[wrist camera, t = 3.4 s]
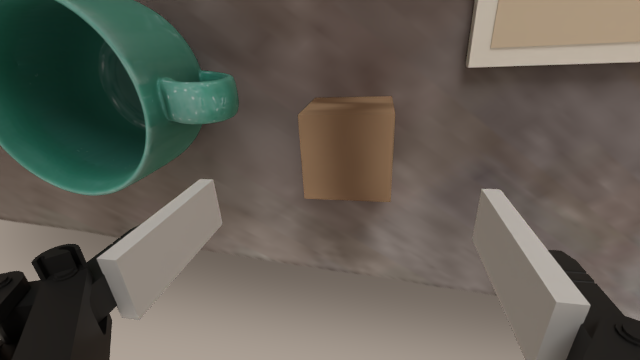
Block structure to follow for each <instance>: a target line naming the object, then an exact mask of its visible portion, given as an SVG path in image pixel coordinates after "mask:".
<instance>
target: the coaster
mask: <svg viewBox="0 0 640 360" xmlns="http://www.w3.org/2000/svg"><path fill="white" fill-rule="evenodd" d="M622 62H640V0H475V2H474V9H473V16H472V23H471V30H470V37H469V44H468V51H467V58H466V65H465V67H468V68H472V67H502V66H532V65H562V64H592V63H622Z"/></svg>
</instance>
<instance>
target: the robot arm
mask: <svg viewBox="0 0 640 360" xmlns="http://www.w3.org/2000/svg"><path fill="white" fill-rule="evenodd" d="M222 224H223V223H222V219H221V214H220V209H219V204H218V199H217V194H216V190H215V185H214V180H213V179H199V180H198V181H197V182H196V183H194V184H193V185H192V186H190V187H189V188H188V189H186V190H185V191H184V192H183V193H181V194H180V195H179V196H177V197H176V198H175V199H173V200H172V201H171V202H169V203H168V204H167V205H166V206H164V207H163V208H162V209H160V210H159V211H158V212H156V213H155V214H154V215H153V216H151V217H150V218H149V219H147V220H146V221H145V222H143V223H142V224H141V225H139V226H137V227H135V228H132V229H130V230H129V231H128V232H126V233H125V234H124V235H122V236H121V238H118V239H117V240H116V241H115V242H113V244H111V245H109V246H108V247H107V248H106V249H104V250H103V251H101V252H100V253H99V254H97V255H96V256H95V257H93V258H92V259H91V260H89V261H88V262H87V263H86V261H85V258H84V256H83V254H82V252H81V249H80V247H79V246H78V245H76V244H66V245H61V246H57V247H54V248H52V249H49V250H47V251H45V252H43V253H41V254H40V255H39V256H37V257H36V258H35V259H34V260H33V261H32V265H33V266H34V268H35V270H36V272H37V274H38V276H39V278H40V279H41V280H39V281H32V282H28V281H27V279H26V277H25V276H24V274H23V272H20V271H13V272H8V273H3V274H0V360H109V357H110V342H111V327H112V319H111V316H110V314H109V313H110V312H111V311H112V310H113V309H114V308H115V307H116V306H117V308H118V310H119V312H120V315H121V317H122V318H128V319H136V320H140V319H141V318H142V316H143V315H144V314H145V313H146V312H147V311H148V310H149V308H150V307H151V306H152V305H153V304H154V303H155V301H156V300H157V299H158V298H159V297H160V295H162V293H163V292H164V291H165V290H166V289H167V288H168V286H169V285H170V284H171V283H172V282H173V281H174V279H175V278H176V277H177V276H178V275H179V274H180V273H181V271H182V270H183V269H184V268H185V267H186V266H187V264H188V263H189V262H190V261H191V260H192V258H193V257H194V256H195V255H196V254H197V253H198V252H199V251H200V249H201V248H202V247H203V246H204V245H205V244H206V243H207V241H208V240H209V239H210V238H211V237H212V236H213V234H214V233H215V232H216V231H217V230H218V229H219V227H220V226H221V225H222ZM472 241H473V243H474V245H475V248H476V250H477V252H478V254H479V257H480V259H481V261H482V263H483V266H484V268H485V270H486V272H487V275H488V277H489V279H490V281H491V284H492V286H493V288H494V290H495V293H496V295H497V297H498V299H499V302H500V304H501V306H502V308H503V310H504V313H505V315H506V317H507V319H508V322H509V324H510V326H511V329H512V331H513V333H514V335H515V337H516V340H517V342H518V344H519V346H520V349H521V351H522V353H523V355H524V358H525V360H640V321H638V320H635V319H632V318H629V317H626V316H624V315H623V314H622V312H621V311H620V310H619V309H618V308H617V307H616V306H615V304H614V303H613V302H612V301H611V300H610V299H609V298H608V296H607V295H606V294H605V293H604V292H603V291H602V290H601V288H600V287H599V286H598V285H597V284H595V283H594V280H593V279H592V278H591V277H590V276H589V275H588V274H586V271H585V270H584V269H583V268H582V267H581V266H580V264H579V263H578V262H577V261H576V260H574V259H573V258H571V257H570V256H568V255H567V254H565V253H564V252H562V251H556V250H547V249H546V247H545V246H544V245H543V244H542V242H541V241H540V240H539V238H538V237H537V236H536V235H535V233H534V232H533V231H532V230H531V228H530V227H529V226H528V224H527V223H526V222H525V221H524V219H523V218H522V217H521V215H520V214H519V213H518V212H517V210H516V209H515V208H514V207H513V205H512V204H511V203H510V201H509V200H508V199H507V198H506V196H505V195H504V194H503V192H502V191H501V190H499V189H482V190H481V195H480V200H479V206H478V211H477V216H476V222H475V227H474V232H473V238H472Z"/></svg>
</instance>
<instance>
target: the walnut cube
mask: <svg viewBox="0 0 640 360" xmlns="http://www.w3.org/2000/svg"><path fill="white" fill-rule="evenodd" d="M298 123H299V136H300V148H301V160H302V173H303V185H304V198H305V199H329V200H353V201H377V202H390V200H391V182H392V163H393V145H394V127H395V111H394V105H393V100H392V96H384V97H330V98H315V99H314V100H313V101H312V102H311V103H310V104H309V105H308V106H307V107H306V108H305V109H304V110H303V111H302V112H301V113H300V114H299V115H298Z"/></svg>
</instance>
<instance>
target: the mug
mask: <svg viewBox="0 0 640 360" xmlns="http://www.w3.org/2000/svg"><path fill="white" fill-rule="evenodd" d="M238 105H239V100H238V93H237V88H236V84H235V81H234V78H233V77H232V76H231V75H229V74H225V73H219V72H212V71H202V70H201V69H200V66H199V64H198V62H197V59H196V57H195V55H194V54H193V52H192V50H191V49H190V47H189V45H188V44H187V43H186V41H185V40H184V39H183V37H182V36H181V35H180V34H179V33H178V31H177V30H176V29H175V28H174V27H173V26H172V25H171V24H170V23H169V22H168V21H166V20H165V19H164V18H163V17H161V16H160V15H159V14H157V13H156V12H154V11H153V10H151V9H150V8H148V7H146V6H144V5H142V4H140V3H138V2H136V1H133V0H0V146H1V147H2V148H3V149H4V150H5V151H6V152H7V153H8V154H9V155H10V156H11V157H12V158H13V159H15V160H16V161H17V162H18V163H19V164H20V165H22V166H23V167H24V168H25V169H27V170H28V171H30V172H31V173H32V174H34V175H36V176H37V177H39V178H41V179H42V180H44V181H46V182H48V183H50V184H52V185H54V186H56V187H58V188H61V189H63V190H66V191H69V192H73V193H77V194H83V195H106V194H111V193H114V192H117V191H120V190H122V189H124V188H126V187H128V186H130V185H131V184H133V183H135V182H137V181H139V180H140V179H142V178H144V177H146V176H147V175H149V174H151V173H153V172H154V171H156V170H157V169H159V168H161V167H162V166H164V165H166V164H167V163H169V162H170V161H172V160H173V159H175V158H176V157H177V156H179V155H180V154H181V153H182V152H184V151H185V150H186V149H187V148H188V147H189V146H190V145H191V144H192V142H193V141H194V140H195V138H196V137H197V135H198V133H199V131H200V129H201V126H202V124H209V123H216V122H220V121H224V120H227V119H229V118H232V117H233V116H234V115H235V114H236V113H237V111H238Z"/></svg>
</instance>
